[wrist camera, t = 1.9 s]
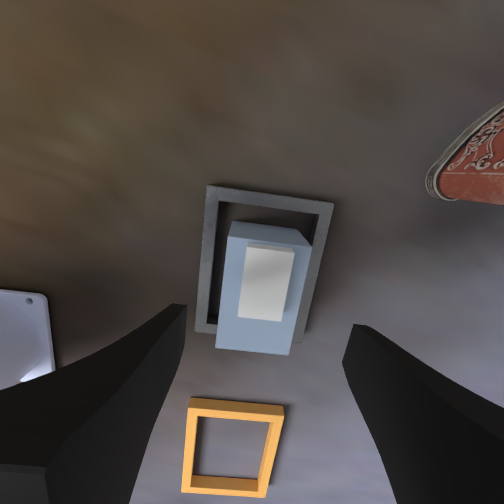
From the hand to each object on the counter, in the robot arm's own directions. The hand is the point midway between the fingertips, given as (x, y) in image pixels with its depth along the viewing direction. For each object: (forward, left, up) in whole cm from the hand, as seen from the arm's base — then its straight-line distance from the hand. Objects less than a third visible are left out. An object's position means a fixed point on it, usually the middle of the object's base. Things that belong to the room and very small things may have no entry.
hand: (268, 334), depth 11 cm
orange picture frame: (0, -18, -8) cm, 20 cm away
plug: (0, 0, -8) cm, 8 cm away
